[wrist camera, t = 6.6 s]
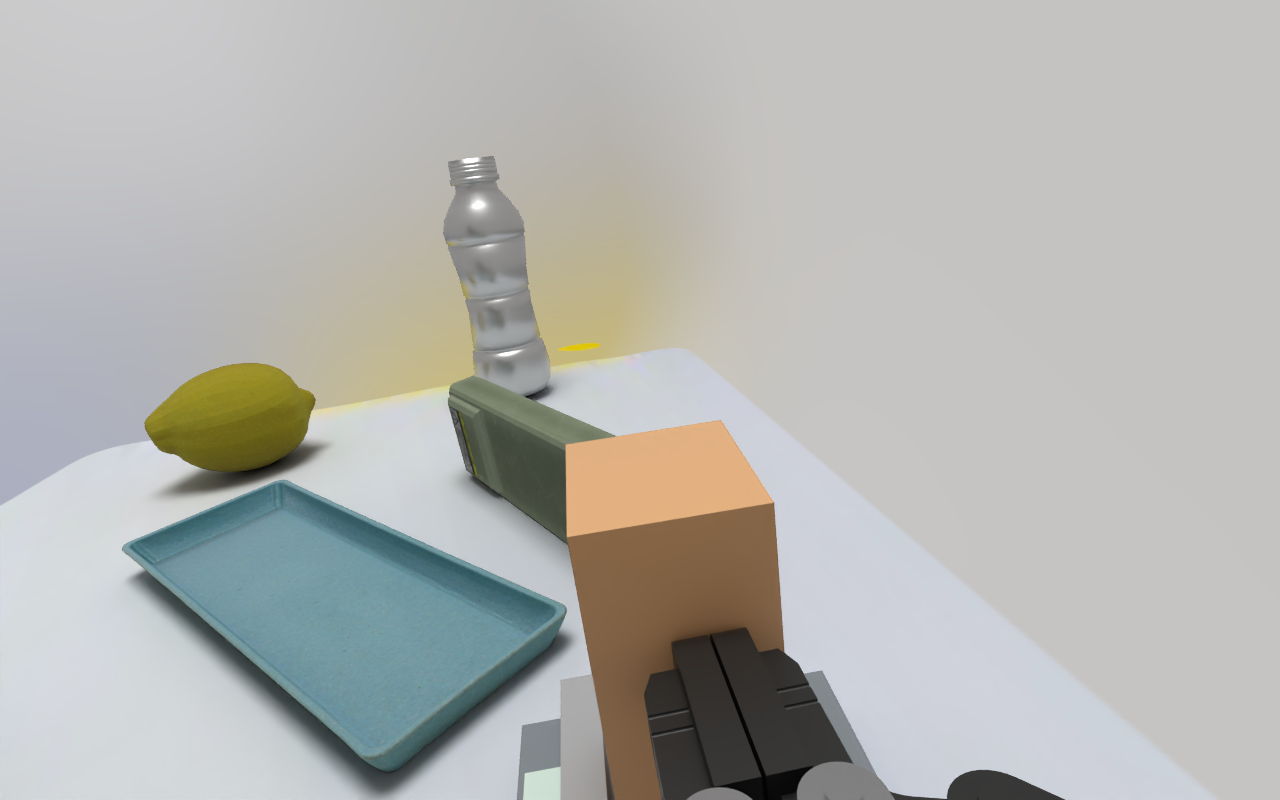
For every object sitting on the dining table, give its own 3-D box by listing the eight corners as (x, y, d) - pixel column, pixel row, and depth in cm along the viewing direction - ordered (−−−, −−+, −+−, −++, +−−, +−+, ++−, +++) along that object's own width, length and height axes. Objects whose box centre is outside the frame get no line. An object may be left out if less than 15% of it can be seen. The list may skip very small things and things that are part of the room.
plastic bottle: (569, 389, 61) (529, 151, 54) (506, 414, 56) (454, 159, 50) (527, 379, 65) (485, 159, 59) (465, 402, 61) (413, 166, 54)
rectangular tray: (580, 646, 28) (571, 596, 28) (385, 813, 22) (366, 753, 21) (294, 511, 45) (283, 477, 44) (134, 583, 38) (117, 545, 38)
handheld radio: (508, 461, 47) (774, 625, 28) (464, 479, 46) (713, 668, 26) (485, 370, 45) (757, 479, 25) (438, 386, 43) (690, 516, 24)
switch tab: (805, 911, 16) (778, 510, 12) (640, 945, 15) (566, 545, 12) (749, 739, 20) (718, 415, 17) (622, 763, 20) (565, 440, 17)
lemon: (328, 433, 58) (301, 342, 55) (331, 464, 51) (299, 361, 48) (181, 470, 54) (144, 373, 51) (162, 509, 47) (118, 399, 44)
